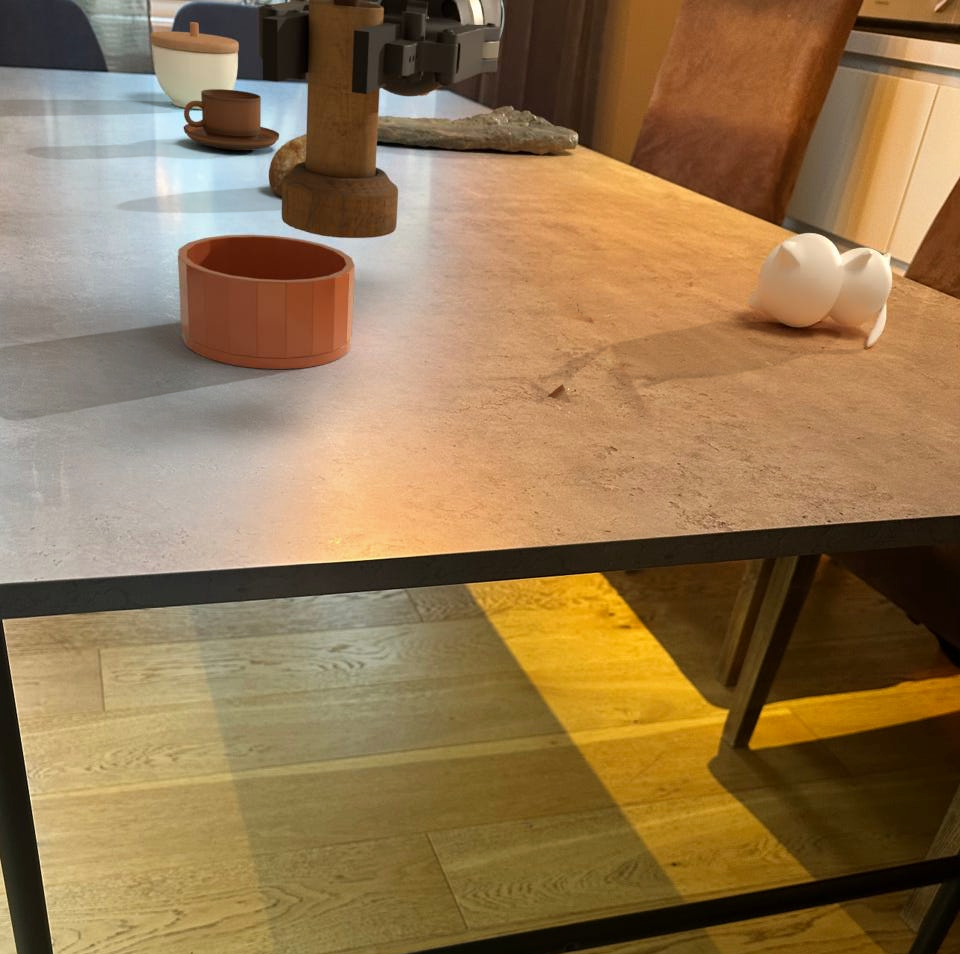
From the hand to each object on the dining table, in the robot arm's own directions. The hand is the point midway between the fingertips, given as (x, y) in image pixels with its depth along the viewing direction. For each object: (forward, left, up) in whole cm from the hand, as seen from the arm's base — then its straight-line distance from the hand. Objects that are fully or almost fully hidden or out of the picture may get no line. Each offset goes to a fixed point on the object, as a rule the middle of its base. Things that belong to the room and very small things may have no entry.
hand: (315, 56), depth 53 cm
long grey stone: (-39, +105, -21) cm, 114 cm away
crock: (-13, +15, -21) cm, 29 cm away
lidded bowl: (-80, +98, -21) cm, 128 cm away
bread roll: (-36, +60, -21) cm, 73 cm away
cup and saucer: (-58, +75, -21) cm, 97 cm away
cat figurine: (+22, +50, -21) cm, 59 cm away
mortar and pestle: (-1, +5, -9) cm, 11 cm away
